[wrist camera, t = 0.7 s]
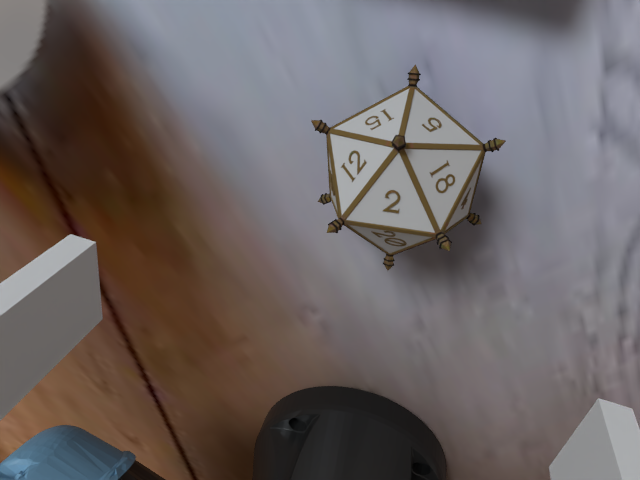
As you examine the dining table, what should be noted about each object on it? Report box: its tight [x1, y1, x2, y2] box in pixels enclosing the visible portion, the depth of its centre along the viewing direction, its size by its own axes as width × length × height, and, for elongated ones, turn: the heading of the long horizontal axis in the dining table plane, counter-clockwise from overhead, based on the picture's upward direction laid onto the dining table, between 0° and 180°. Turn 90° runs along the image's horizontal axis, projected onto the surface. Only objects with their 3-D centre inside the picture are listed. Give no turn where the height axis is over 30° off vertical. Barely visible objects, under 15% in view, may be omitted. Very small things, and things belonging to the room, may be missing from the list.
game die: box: [311, 65, 505, 270], centre depth 24 cm, size 9×8×10 cm
